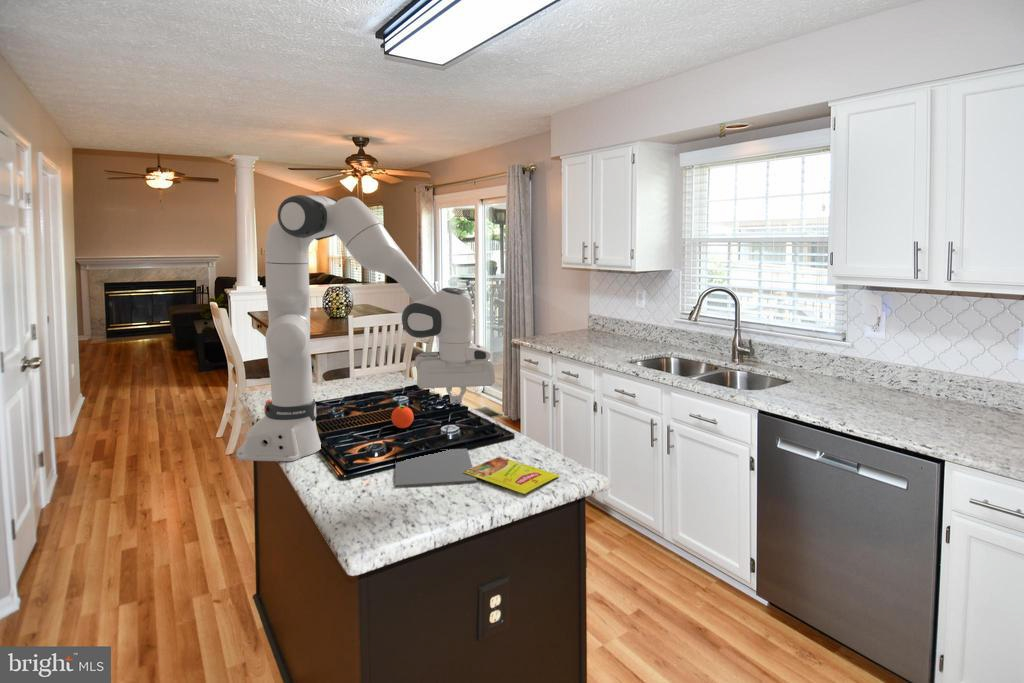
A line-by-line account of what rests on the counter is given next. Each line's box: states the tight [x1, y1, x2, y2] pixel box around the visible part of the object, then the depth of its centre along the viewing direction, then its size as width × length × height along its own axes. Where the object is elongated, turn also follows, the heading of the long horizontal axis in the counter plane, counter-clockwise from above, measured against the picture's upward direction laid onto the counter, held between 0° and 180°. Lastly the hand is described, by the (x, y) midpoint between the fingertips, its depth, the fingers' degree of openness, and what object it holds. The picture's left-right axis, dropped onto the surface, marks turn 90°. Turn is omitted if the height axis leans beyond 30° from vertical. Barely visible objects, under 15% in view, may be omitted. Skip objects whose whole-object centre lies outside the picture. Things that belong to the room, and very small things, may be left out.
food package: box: [463, 456, 561, 494], centre depth 160 cm, size 15×1×20 cm
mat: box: [394, 448, 477, 488], centre depth 165 cm, size 20×22×1 cm
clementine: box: [390, 405, 415, 429], centre depth 196 cm, size 8×7×7 cm
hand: (456, 402), depth 162 cm, fingers closed
